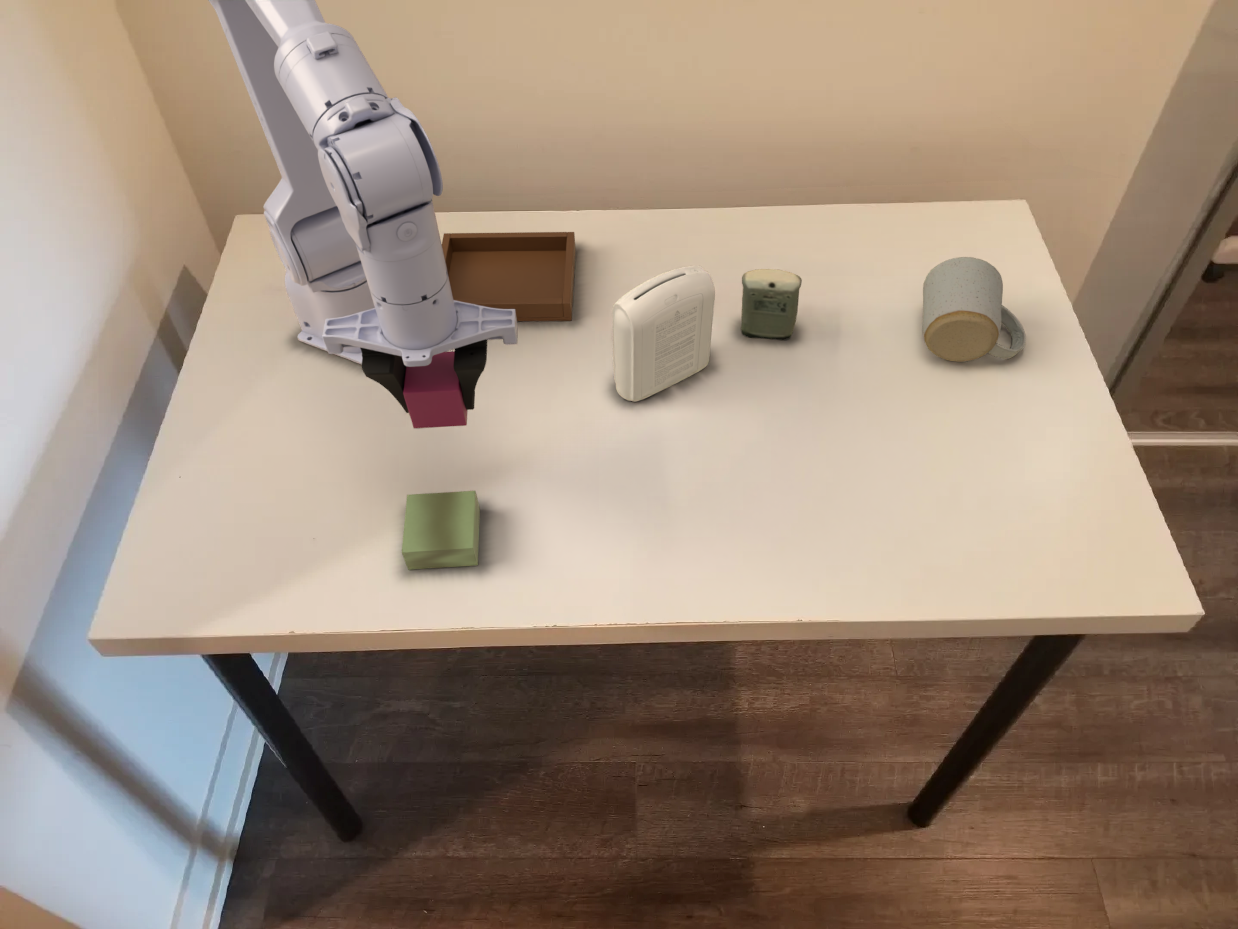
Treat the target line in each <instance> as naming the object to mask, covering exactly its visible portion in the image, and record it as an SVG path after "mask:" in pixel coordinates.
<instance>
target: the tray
mask: <svg viewBox="0 0 1238 929" xmlns="http://www.w3.org/2000/svg"><path fill="white" fill-rule="evenodd" d="M441 244H442V249H443V253H444V258H445V263H446V267H447V272H448V277H449V282H450V286H451V291H452V296H453V300H455V301H460V302H465V303H470V304H475V305H480V306H485V307H490V308H497V309H515V311H516V318H517V322H567V321H568V322H570V321H571V322H572V319H573V318H572V317H573V305H574V304H573V303H574V302H573V301H574V284H575V266H576V265H575V264H576V252H577V251H576V250H577V248H576V236H575V231H539V232H538V231H535V232H534V231H533V232H531V231H529V232H527V231H525V232H523V231H522V232H520V231H519V232H449V233H448V232H447V233H446V232H444V233H443V237H442V240H441Z"/></svg>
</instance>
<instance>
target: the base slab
mask: <svg viewBox="0 0 1238 929" xmlns="http://www.w3.org/2000/svg"><path fill="white" fill-rule="evenodd" d="M405 502H406V503H405V513H404V524H403V534H402V544H401V555H402V558H403V560H404V562H405V565H406V568H407V570H408V571H410V570H423V569H424V570H425V569H426V570H427V569H440V568H441V569H442V568H443V569H444V568H457V567H459V568H460V567H473V566H478V565H479V545H480V543H479V542H480V518H481V516H480V514H481V513H480V512H481V508H480V504H479V499H478V496H477V491H476V490H463V491H462V490H461V491H447V492H445V491H444V492H429V493H414V494H412V493H411V494H406V500H405Z"/></svg>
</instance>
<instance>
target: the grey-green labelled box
mask: <svg viewBox="0 0 1238 929" xmlns="http://www.w3.org/2000/svg"><path fill="white" fill-rule="evenodd" d="M802 282H803V279H802V278H801V276H800V275H798V274H797V273H793V272H791V271H787V270H783V269H776V268H775V269H774V268H758V269H757V268H756V269H753V270H749V271H746V272H744V273H743V274H742V275H741V284H742V285H741V286H742V295H741V319H740V320H741V321H740V322H741V323H740V331H741V334H742V335H743V336H744V337H747V338H751V339H766V340H780V341H787V340H789V339H791V338H792V335H793V333H794V329H795V326H796V321H797V316H798V309H799V297H800V288H801V287H802Z"/></svg>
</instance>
